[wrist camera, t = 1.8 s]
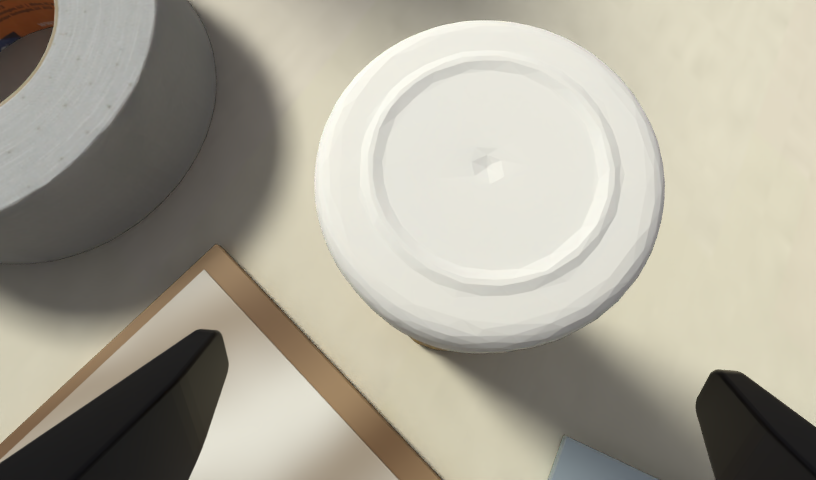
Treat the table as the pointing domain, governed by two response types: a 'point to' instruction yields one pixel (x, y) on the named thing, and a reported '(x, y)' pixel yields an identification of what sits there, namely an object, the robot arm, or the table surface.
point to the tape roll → (99, 120)
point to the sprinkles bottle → (489, 186)
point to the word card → (590, 464)
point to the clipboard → (247, 388)
